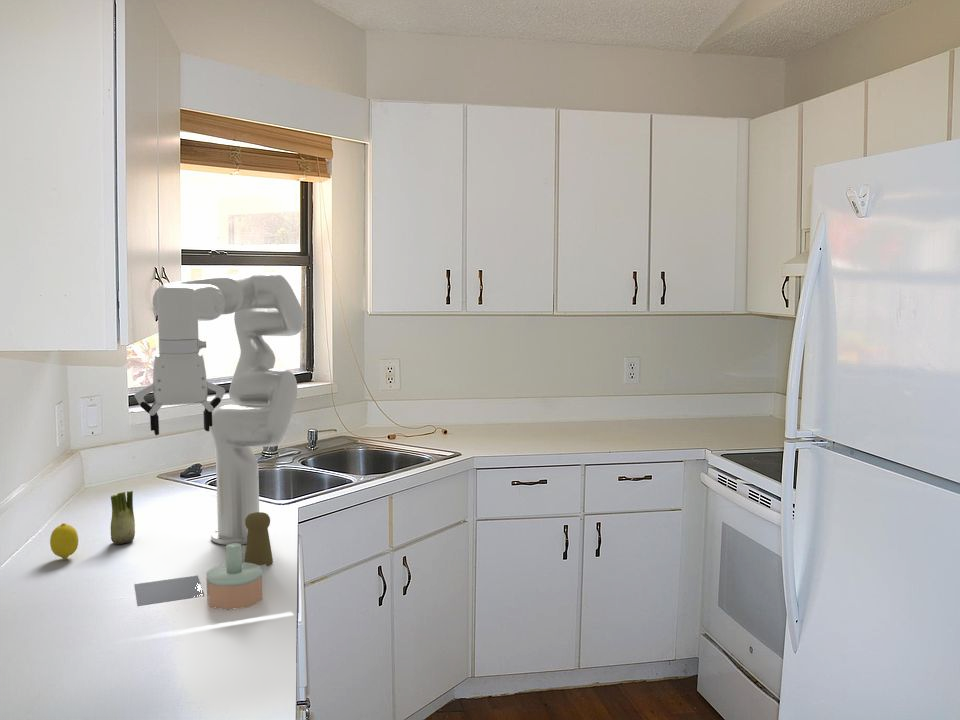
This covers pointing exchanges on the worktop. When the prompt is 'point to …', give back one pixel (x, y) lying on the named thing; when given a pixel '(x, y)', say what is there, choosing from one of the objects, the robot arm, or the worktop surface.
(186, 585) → the mat
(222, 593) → the bowl
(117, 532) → the fennel bulb
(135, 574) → the worktop surface
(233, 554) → the lid
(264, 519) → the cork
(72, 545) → the lemon
